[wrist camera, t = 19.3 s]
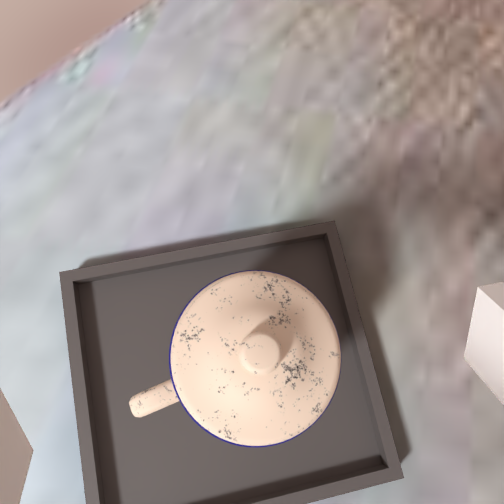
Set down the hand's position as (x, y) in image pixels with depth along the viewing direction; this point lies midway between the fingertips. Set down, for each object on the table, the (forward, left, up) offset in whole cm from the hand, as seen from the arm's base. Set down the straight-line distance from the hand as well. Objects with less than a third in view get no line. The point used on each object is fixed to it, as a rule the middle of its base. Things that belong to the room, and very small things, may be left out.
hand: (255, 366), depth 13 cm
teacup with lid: (0, 0, -20) cm, 20 cm away
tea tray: (+1, 0, -20) cm, 20 cm away
